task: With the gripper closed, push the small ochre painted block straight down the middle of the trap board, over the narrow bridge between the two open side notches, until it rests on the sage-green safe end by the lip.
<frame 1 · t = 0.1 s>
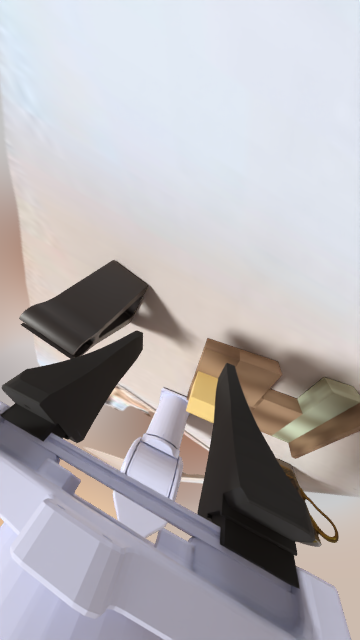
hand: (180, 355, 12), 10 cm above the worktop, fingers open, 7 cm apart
phone stand: (124, 294, 24), on the worktop
ceramic cup: (282, 464, 35), on the worktop
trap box: (251, 388, 25), on the worktop
block: (207, 383, 25), point 2 cm above the worktop, touching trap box
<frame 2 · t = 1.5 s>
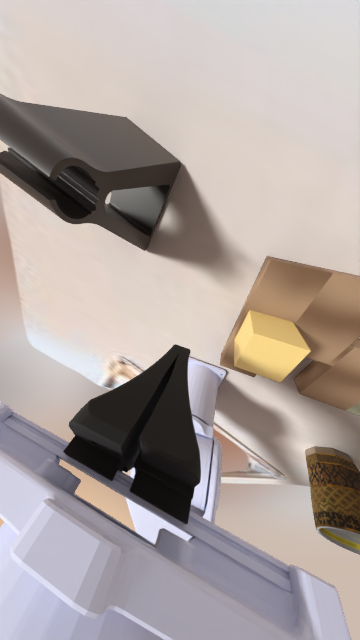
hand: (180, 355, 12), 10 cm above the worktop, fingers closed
phone stand: (140, 197, 16), on the worktop
ceramic cup: (336, 455, 27), on the worktop
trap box: (322, 340, 18), on the worktop
block: (260, 331, 17), point 2 cm above the worktop, touching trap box
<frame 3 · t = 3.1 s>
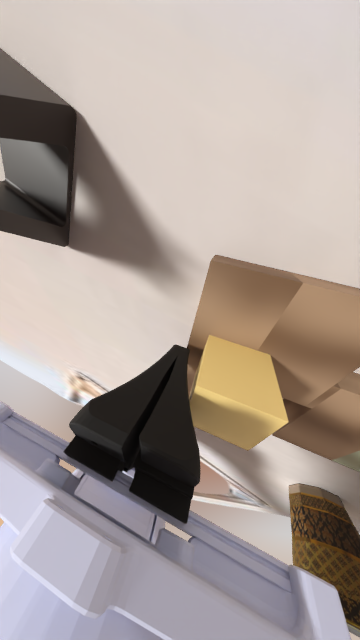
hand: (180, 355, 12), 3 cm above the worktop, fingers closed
phone stand: (42, 170, 11), on the worktop
ceramic cup: (325, 494, 23), on the worktop
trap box: (299, 369, 13), on the worktop
block: (228, 363, 12), point 2 cm above the worktop, touching gripper, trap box
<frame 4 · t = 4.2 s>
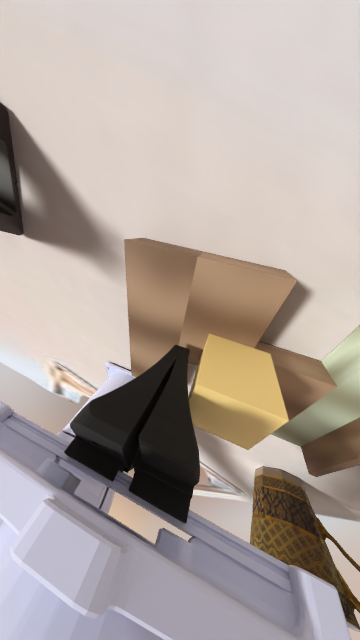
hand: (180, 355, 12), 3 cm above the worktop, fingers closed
ceramic cup: (287, 477, 24), on the worktop
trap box: (235, 347, 14), on the worktop
block: (228, 362, 12), point 2 cm above the worktop, touching gripper, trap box
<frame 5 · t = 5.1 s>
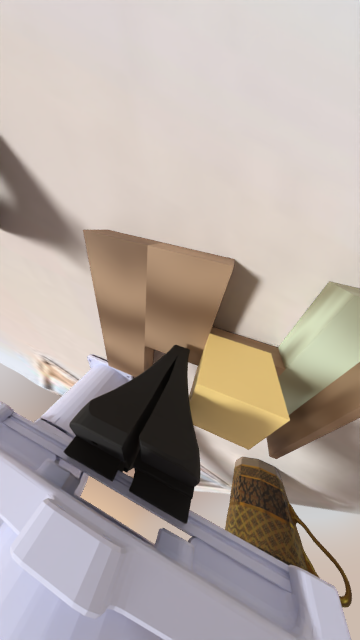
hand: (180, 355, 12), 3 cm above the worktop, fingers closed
ceramic cup: (266, 467, 25), on the worktop
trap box: (201, 336, 15), on the worktop
block: (228, 362, 12), point 2 cm above the worktop, touching gripper
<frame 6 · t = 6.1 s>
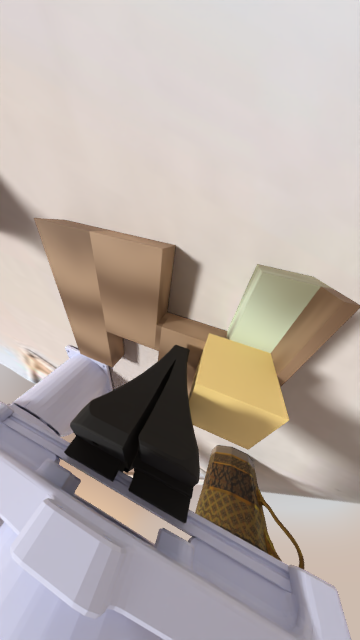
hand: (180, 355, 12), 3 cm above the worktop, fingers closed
ceramic cup: (240, 455, 25), on the worktop
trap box: (161, 322, 15), on the worktop
block: (228, 362, 12), point 2 cm above the worktop, touching gripper, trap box
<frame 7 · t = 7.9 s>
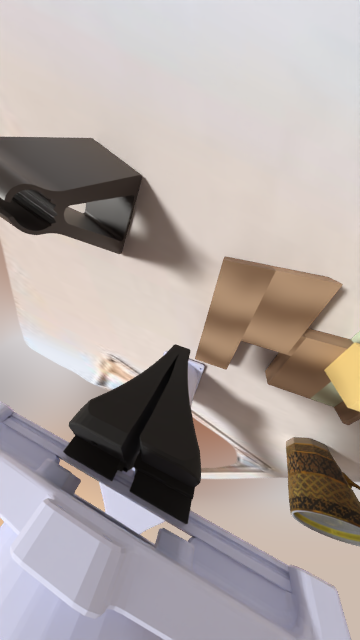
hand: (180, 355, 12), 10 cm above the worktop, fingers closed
phone stand: (111, 206, 18), on the worktop
ceramic cup: (315, 445, 28), on the worktop
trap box: (283, 332, 19), on the worktop
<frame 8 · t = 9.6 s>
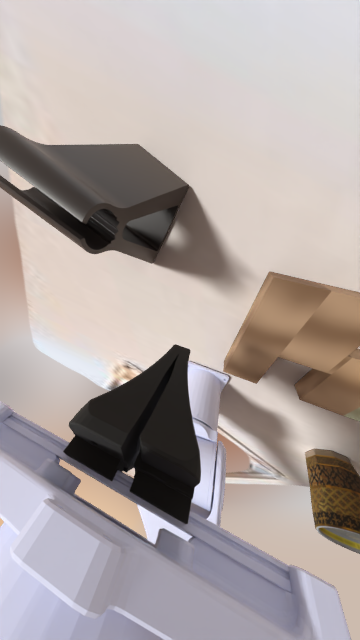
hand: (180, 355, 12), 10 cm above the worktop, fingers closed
phone stand: (148, 214, 17), on the worktop
ceramic cup: (335, 457, 28), on the worktop
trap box: (321, 349, 18), on the worktop
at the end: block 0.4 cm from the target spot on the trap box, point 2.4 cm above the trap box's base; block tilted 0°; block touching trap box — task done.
